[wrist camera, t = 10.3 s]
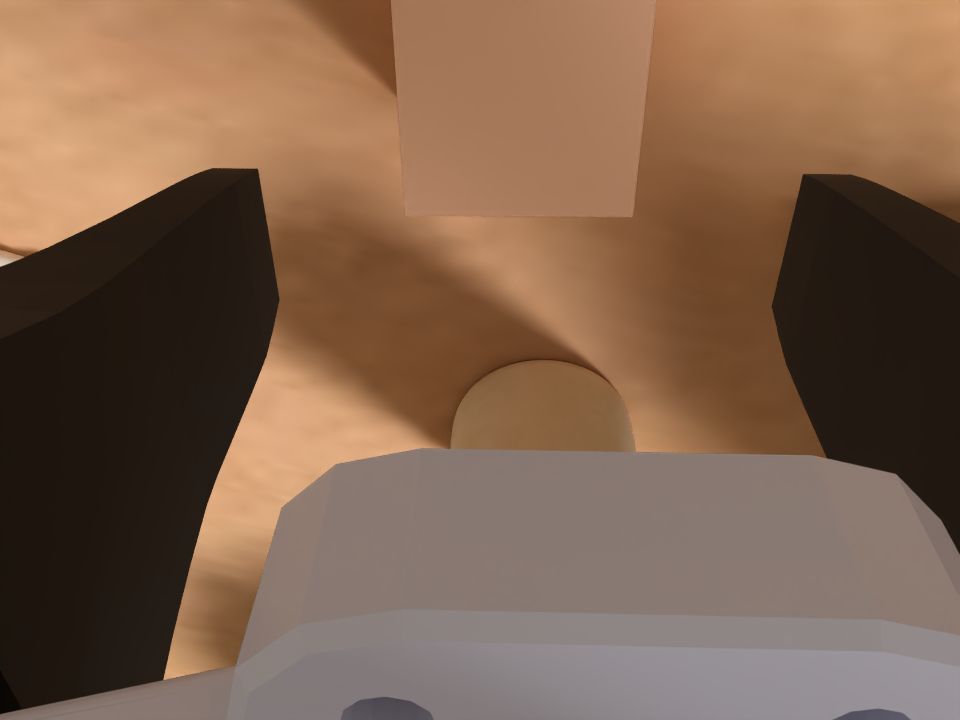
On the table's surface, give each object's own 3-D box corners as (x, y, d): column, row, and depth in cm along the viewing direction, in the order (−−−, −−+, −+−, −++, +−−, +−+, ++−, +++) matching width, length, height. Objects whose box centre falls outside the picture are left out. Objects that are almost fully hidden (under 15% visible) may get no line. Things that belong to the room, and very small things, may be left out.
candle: (417, 437, 27) (378, 739, 19) (529, 324, 25) (538, 620, 16) (551, 515, 29) (566, 818, 21) (668, 418, 26) (737, 723, 18)
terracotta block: (609, 121, 21) (632, 217, 17) (424, 121, 21) (404, 215, 17) (626, -83, 18) (659, -28, 14) (415, -83, 18) (389, -27, 14)
